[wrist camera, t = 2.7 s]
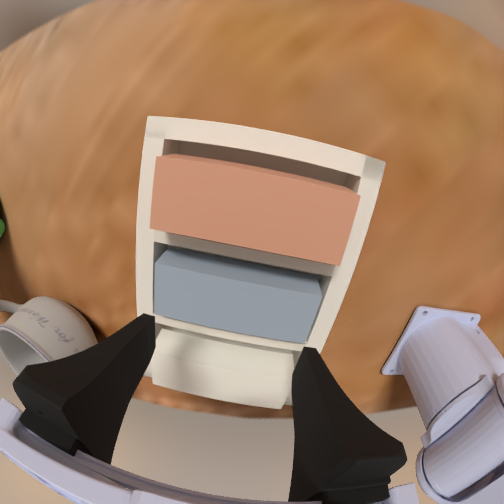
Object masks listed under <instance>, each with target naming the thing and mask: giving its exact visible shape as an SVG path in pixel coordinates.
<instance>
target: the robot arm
mask: <svg viewBox="0 0 504 504" xmlns="http://www.w3.org/2000/svg"><path fill="white" fill-rule="evenodd" d="M424 311H425V312H424ZM423 312H424V313H423ZM480 318H481V316H480V315H479V314H476V313H468V312H461V311H454V310H446V309H439V308H432V307H426V306H419V307H417V308H416V310H415V311H414V313H413V315H412V317H411V319H410V321H409V323H408V325H407V327H406V329H405V330H404V332H403V334H402V336H401V338H400V340H399V341H398V343H397V345H396V347H395V348H394V350H393V352H392V353H391V355H390V357H389V358H388V360H387V362H386V363H385V365H384V366H383V368H382V370H381V371H382V374H384V375H404V377H405V379H406V381H407V383H408V386H409V388H410V390H411V393H412V395H413V398H414V400H415V402H416V405H417V407H418V410H419V412H420V414H421V417H422V420H423V422H424V425H425V428H426V430H427V432H426V433H425V434H424V435H423V436H421V440H422V442H423V446H424V447H423V448H422V449H421V450H420V451H419V453H418V455H417V459H416V477H417V480H418V483H419V485H420V487H421V489H422V490H423V492H424V493H425V494H426V495H428V496H429V497H430V498H432V499H433V500H435V502H437V503H438V504H504V358H503V357H502V355H501V354H500V353H499V351H498V350H497V349H496V347H495V346H494V345H493V343H492V342H491V341H490V340H489V338H488V337H487V336H486V335H485V334H484V332H483V331H482V330H481V329H480V328H479V326H478V325H477V324H478V322H479V320H480ZM155 348H156V338H155V316H152V315H148V314H145V313H143V314H142V315H140V316H139V317H137V318H136V319H134V320H133V321H132V322H130V323H129V324H127V325H126V326H124V327H123V328H122V329H120V330H119V331H117V332H116V333H114V334H113V335H111V336H109V337H108V338H106V339H104V340H103V341H101V342H99V343H98V344H96V345H94V346H92V347H90V348H88V349H85V350H83V351H81V352H78V353H76V354H73V355H70V356H67V357H64V358H61V359H58V360H54V361H50V362H45V363H39V364H32V365H27V366H26V367H25V368H24V369H23V370H22V372H21V373H20V374H19V375H18V377H17V378H16V379H15V380H14V382H13V387H14V390H15V392H16V394H17V396H18V397H19V399H20V400H21V401H22V403H23V405H24V406H25V408H26V409H25V411H24V412H22V411H21V410H20V409H19V408H18V407H16V406H15V405H14V404H12V403H11V402H10V401H8V400H7V399H6V398H2V399H1V400H0V451H1V452H2V453H3V454H4V455H5V456H6V457H8V458H9V459H10V460H11V461H13V462H14V463H15V464H17V465H18V466H19V467H20V468H22V469H23V470H24V471H26V472H27V473H28V474H30V475H31V476H33V477H34V478H35V479H37V480H38V481H40V482H41V483H43V484H44V485H46V486H47V487H49V488H50V489H52V490H54V491H55V492H57V493H58V494H60V495H62V496H63V497H65V498H67V499H69V500H70V501H72V502H74V503H76V504H419V500H418V495H417V491H416V487H415V483H409V484H404V485H400V486H396V487H393V488H390V489H388V484H389V483H390V482H391V480H390V476H391V475H392V474H393V473H395V472H396V471H397V470H399V469H400V468H401V467H402V466H403V465H404V464H405V463H406V461H407V456H406V453H405V449H404V446H403V443H402V442H400V441H398V440H397V439H395V438H394V437H392V436H390V435H389V434H387V433H386V432H384V431H383V430H382V429H380V428H379V427H378V426H376V425H375V424H374V423H373V422H372V421H370V420H369V419H368V418H367V417H366V416H365V415H364V414H363V413H362V412H361V411H360V410H359V409H358V408H357V407H356V406H355V405H354V404H353V403H352V401H351V400H350V399H349V398H348V397H347V396H346V394H345V393H344V392H343V390H342V389H341V388H340V386H339V385H338V383H337V382H336V380H335V379H334V377H333V376H332V374H331V373H330V371H329V369H328V368H327V366H326V364H325V363H324V361H323V359H322V357H321V356H320V354H319V352H318V351H317V349H316V348H312V347H303V350H302V352H301V355H300V357H299V359H298V362H297V364H296V367H295V369H294V371H293V374H292V387H291V395H292V407H293V418H294V431H295V441H294V459H293V470H292V479H291V487H290V493H289V499H288V502H276V501H259V500H248V499H239V498H230V497H224V496H218V495H212V494H206V493H201V492H196V491H192V490H187V489H183V488H179V487H175V486H171V485H168V484H164V483H161V482H157V481H154V480H150V479H147V478H144V477H141V476H139V475H135V474H133V473H130V472H127V471H125V470H122V469H120V468H117V467H115V466H112V465H111V460H112V456H113V451H114V447H115V443H116V440H117V436H118V433H119V430H120V427H121V424H122V421H123V418H124V415H125V412H126V410H127V407H128V404H129V402H130V400H131V398H132V395H133V394H134V392H135V390H136V388H137V386H138V384H139V382H140V380H141V379H142V377H143V375H144V373H145V371H146V369H147V367H148V365H149V364H150V361H151V358H152V356H153V353H154V350H155ZM499 465H500V466H499ZM495 468H496V469H495ZM491 471H492V472H491ZM487 474H488V475H487ZM126 488H128V489H126ZM129 489H130V490H129ZM132 490H133V491H132Z"/></svg>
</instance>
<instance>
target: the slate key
mask: <svg viewBox="0 0 504 504" xmlns="http://www.w3.org/2000/svg"><path fill="white" fill-rule="evenodd" d="M321 299H322V293H321V289H320V286H319V283H318V280H317V277H316V276H314V275H309V274H304V273H298V272H293V271H288V270H283V269H277V268H272V267H267V266H262V265H257V264H252V263H247V262H242V261H237V260H232V259H226V258H221V257H216V256H211V255H207V254H202V253H197V252H192V251H187V250H182V249H177V248H172V247H169V248H168V249H167V250H166V251H165V252H164V253H163V254H162V256H161V257H160V258H159V259H158V260H157V261H156V262H155V284H154V314H157V315H161V316H165V317H169V318H173V319H177V320H181V321H185V322H190V323H194V324H198V325H203V326H208V327H212V328H217V329H222V330H227V331H232V332H237V333H242V334H247V335H253V336H259V337H264V338H270V339H277V340H283V341H290V342H296V343H303V344H305V342H306V339H307V336H308V334H309V331H310V329H311V326H312V324H313V321H314V318H315V316H316V313H317V310H318V307H319V305H320V302H321Z"/></svg>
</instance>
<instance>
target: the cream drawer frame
mask: <svg viewBox="0 0 504 504" xmlns="http://www.w3.org/2000/svg"><path fill="white" fill-rule="evenodd" d="M168 154H181V155H188V156H196V157H203V158H210V159H216V160H222V161H228V162H234V163H240V164H246V165H251V166H256V167H262V168H267V169H272V170H276V171H281V172H286V173H290V174H295V175H299V176H304V177H308V178H312V179H316V180H320V181H325V182H328V183H332V184H336V185H340V186H344V187H347V188H349V189H350V190H352V191H354V192H355V193H357V194H358V195H360V196H361V197H360V201H359V205H358V208H357V212H356V215H355V219H354V222H353V226H352V229H351V232H350V236H349V239H348V242H347V245H346V248H345V251H344V255H343V258H342V261H341V264H340V266H337V265H332V264H327V263H322V262H317V261H312V260H307V259H302V258H297V257H292V256H287V255H282V254H277V253H272V252H267V251H262V250H257V249H252V248H247V247H241V246H236V245H231V244H226V243H221V242H216V241H211V240H206V239H201V238H195V237H190V236H185V235H180V234H175V233H170V232H165V231H160V230H154V229H150V215H151V202H152V190H153V180H154V171H155V163H156V156H162V155H168ZM385 164H386V162H384V161H381V160H378V159H375V158H372V157H369V156H366V155H363V154H360V153H357V152H353V151H350V150H347V149H343V148H340V147H336V146H332V145H329V144H325V143H321V142H317V141H313V140H309V139H305V138H301V137H297V136H292V135H288V134H283V133H278V132H273V131H268V130H263V129H257V128H252V127H246V126H240V125H233V124H227V123H219V122H212V121H203V120H194V119H184V118H172V117H158V116H148V118H147V124H146V131H145V138H144V145H143V153H142V161H141V171H140V181H139V193H138V208H137V228H136V297H137V317H139V316H140V315H142V314H143V313H145V314H148V315H152V316H155V338H156V339H157V337H158V335H159V333H160V331H161V329H166V330H170V331H174V332H178V333H182V334H186V335H190V336H195V337H199V338H203V339H208V340H213V341H217V342H222V343H227V344H232V345H238V346H243V347H248V348H254V349H260V350H266V351H272V352H279V353H286V354H293V359H294V369H295V367H296V364H297V362H298V359H299V357H300V355H301V352H302V350H303V347H312V348H316V349H317V351H318V352H319V354H320V353H321V350H322V348H323V346H324V344H325V341H326V339H327V337H328V335H329V332H330V330H331V328H332V325H333V323H334V320H335V318H336V316H337V313H338V311H339V308H340V306H341V303H342V301H343V298H344V296H345V293H346V290H347V288H348V285H349V282H350V280H351V277H352V274H353V271H354V269H355V266H356V263H357V260H358V257H359V254H360V251H361V248H362V245H363V242H364V239H365V236H366V233H367V230H368V226H369V223H370V220H371V216H372V213H373V209H374V206H375V202H376V199H377V195H378V191H379V188H380V184H381V180H382V176H383V172H384V168H385ZM169 247H172V248H177V249H182V250H187V251H192V252H197V253H202V254H207V255H211V256H216V257H221V258H226V259H232V260H237V261H242V262H247V263H252V264H257V265H262V266H267V267H272V268H277V269H283V270H288V271H293V272H298V273H304V274H309V275H314V276H316V277H317V280H318V283H319V286H320V289H321V293H322V299H321V302H320V305H319V307H318V310H317V313H316V316H315V318H314V321H313V324H312V326H311V329H310V331H309V334H308V336H307V339H306V342H305V344H303V343H296V342H290V341H283V340H277V339H270V338H264V337H259V336H253V335H247V334H242V333H237V332H232V331H227V330H222V329H217V328H212V327H208V326H203V325H198V324H194V323H190V322H185V321H181V320H177V319H173V318H169V317H165V316H161V315H157V314H154V284H155V262H156V261H157V260H158V259H159V258H160V257H161V256H162V254H163V253H164V252H165V251H166V250H167V249H168V248H169ZM143 376H146V377H150V378H152V368H151V361H150V364H149V365H148V367H147V369H146V371H145V373H144V375H143ZM283 405H292V395H291V390H290V392H289V394H288V396H287V398H286V400H285V402H284V404H283Z"/></svg>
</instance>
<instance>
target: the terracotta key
mask: <svg viewBox="0 0 504 504" xmlns="http://www.w3.org/2000/svg"><path fill="white" fill-rule="evenodd" d="M360 197H361V196H360V195H358V194H357V193H355V192H354V191H352V190H350V189H349V188H347V187H344V186H340V185H336V184H332V183H328V182H325V181H320V180H316V179H312V178H308V177H304V176H299V175H295V174H290V173H286V172H281V171H276V170H272V169H267V168H262V167H256V166H251V165H246V164H240V163H234V162H228V161H222V160H216V159H210V158H203V157H196V156H188V155H181V154H168V155H162V156H156V163H155V171H154V180H153V190H152V202H151V215H150V229H154V230H160V231H165V232H170V233H175V234H180V235H185V236H190V237H195V238H201V239H206V240H211V241H216V242H221V243H226V244H231V245H236V246H241V247H247V248H252V249H257V250H262V251H267V252H272V253H277V254H282V255H287V256H292V257H297V258H302V259H307V260H312V261H317V262H322V263H327V264H332V265H337V266H340V264H341V261H342V258H343V255H344V251H345V248H346V245H347V242H348V239H349V236H350V232H351V229H352V226H353V222H354V219H355V215H356V212H357V208H358V205H359V201H360Z"/></svg>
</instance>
